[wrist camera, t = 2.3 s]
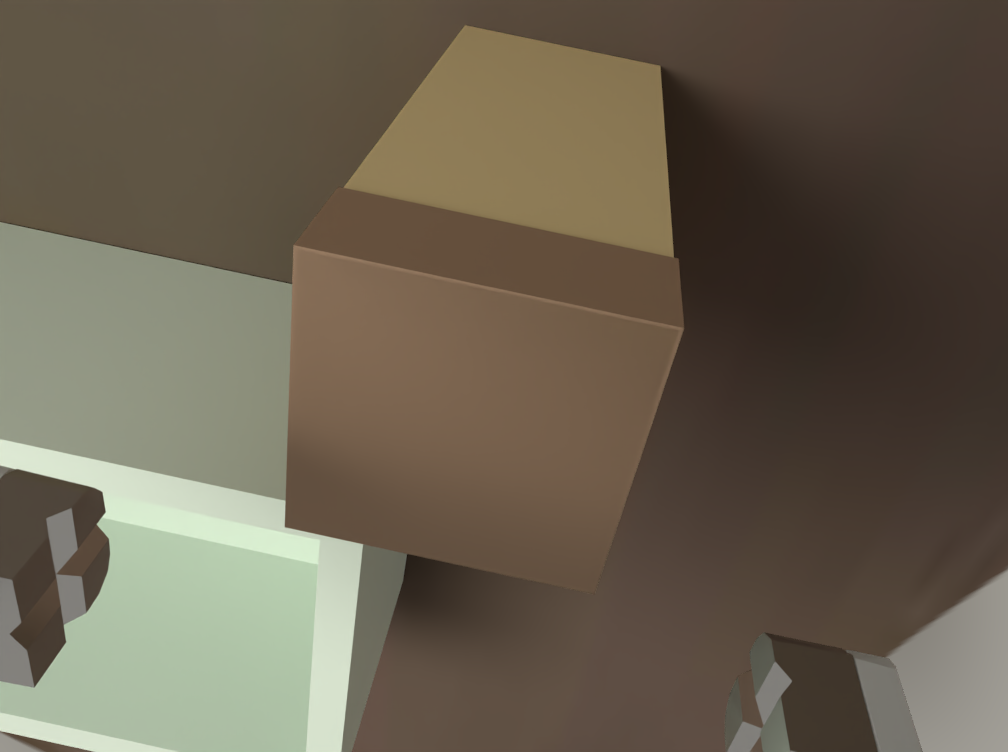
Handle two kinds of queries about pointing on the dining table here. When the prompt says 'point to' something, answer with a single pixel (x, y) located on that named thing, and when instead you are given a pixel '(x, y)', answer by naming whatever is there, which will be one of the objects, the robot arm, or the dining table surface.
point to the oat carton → (489, 316)
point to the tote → (180, 510)
